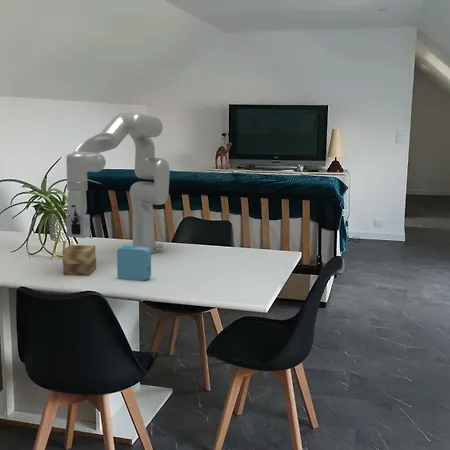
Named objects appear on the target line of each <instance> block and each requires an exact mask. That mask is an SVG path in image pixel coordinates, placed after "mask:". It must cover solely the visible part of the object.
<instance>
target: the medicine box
mask: <svg viewBox="0 0 450 450" xmlns="http://www.w3.org/2000/svg"><path fill="white" fill-rule="evenodd" d="M65 216H66V217H65V221H66V225H65V226H66V237H67V238H78V239H79V238H80V239H86V238H87V239H88V238H90V237H91V223H90V222H91V220H90V218H91V217H90V214H86V213H85V214H83V215H81V216H80V217H79V224H80V234H79V235H75V234H72V228H71V218H70V216H68V215H67V214H66V215H65ZM75 216H78V215H75ZM76 219H77V218H76Z"/></svg>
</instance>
